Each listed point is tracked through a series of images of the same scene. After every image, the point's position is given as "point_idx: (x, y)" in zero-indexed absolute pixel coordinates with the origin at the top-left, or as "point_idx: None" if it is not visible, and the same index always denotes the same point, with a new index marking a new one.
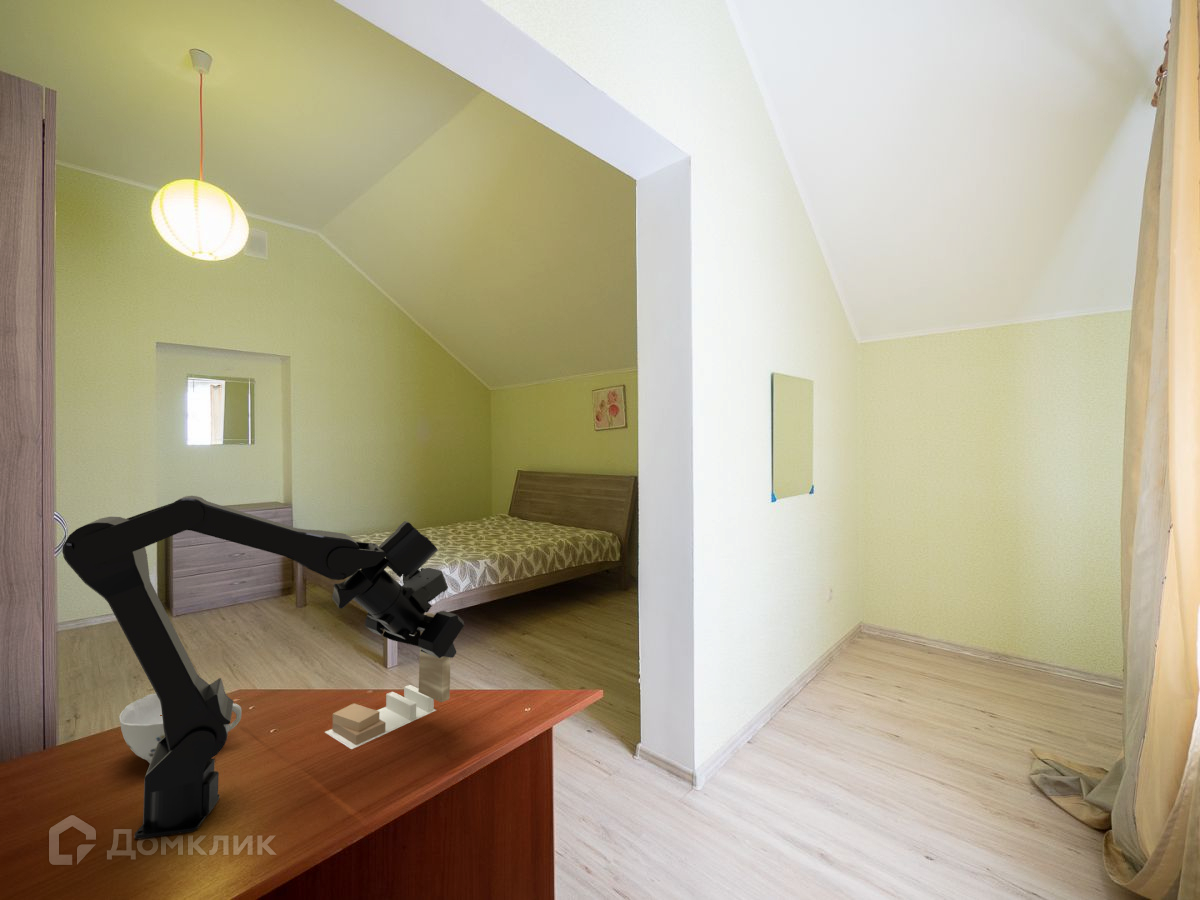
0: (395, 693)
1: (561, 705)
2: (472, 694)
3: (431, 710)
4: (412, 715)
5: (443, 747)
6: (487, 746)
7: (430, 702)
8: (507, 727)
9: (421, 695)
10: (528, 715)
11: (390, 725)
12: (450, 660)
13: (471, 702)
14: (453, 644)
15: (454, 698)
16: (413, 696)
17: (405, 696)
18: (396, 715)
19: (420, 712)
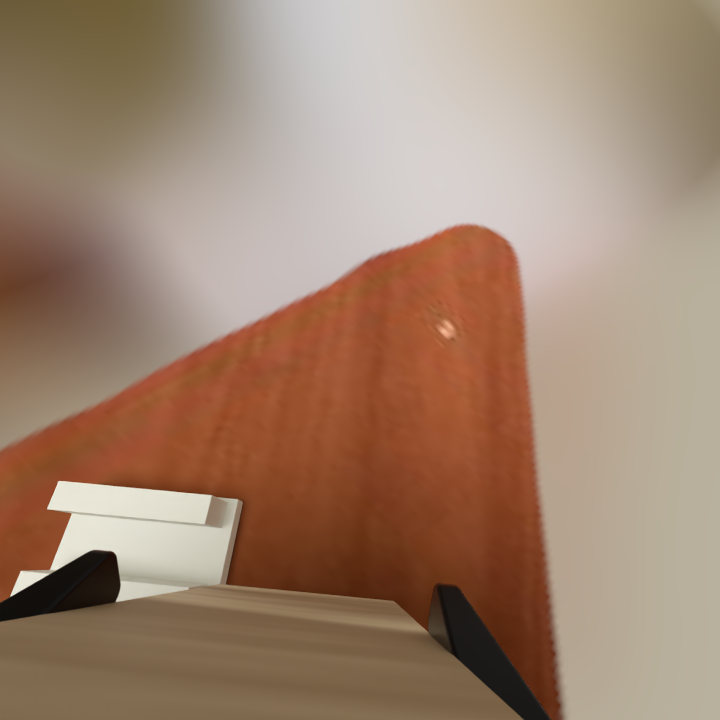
0: (44, 575)
1: (501, 275)
2: (254, 343)
3: (225, 511)
4: None
5: None
6: (516, 550)
7: (214, 513)
8: (478, 431)
9: (162, 519)
10: (473, 352)
11: None
12: (424, 630)
13: (284, 379)
14: (538, 702)
15: (220, 388)
16: (121, 517)
17: (79, 513)
18: None
19: (198, 545)
